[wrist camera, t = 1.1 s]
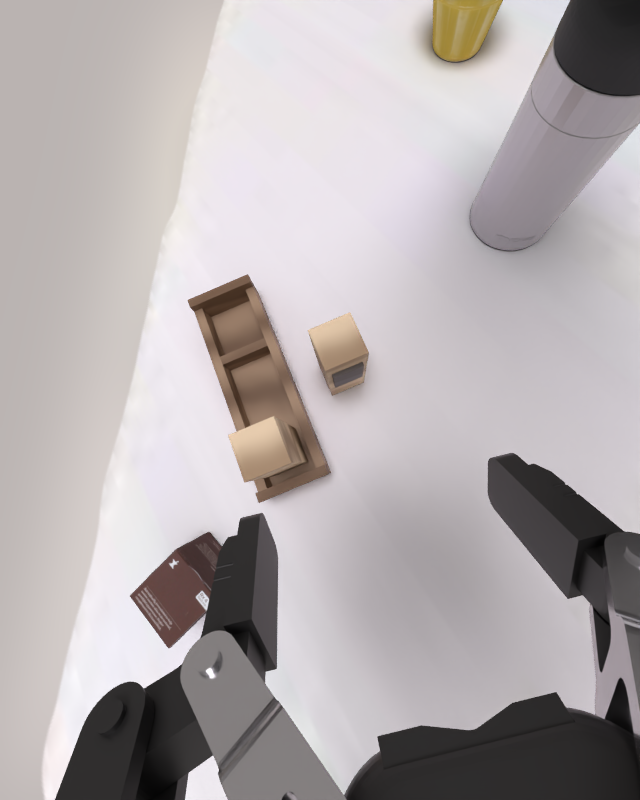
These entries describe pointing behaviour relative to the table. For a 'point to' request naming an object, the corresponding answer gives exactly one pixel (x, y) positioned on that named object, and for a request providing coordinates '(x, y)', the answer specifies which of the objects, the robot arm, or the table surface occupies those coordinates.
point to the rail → (258, 391)
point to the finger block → (340, 353)
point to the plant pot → (461, 26)
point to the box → (179, 589)
